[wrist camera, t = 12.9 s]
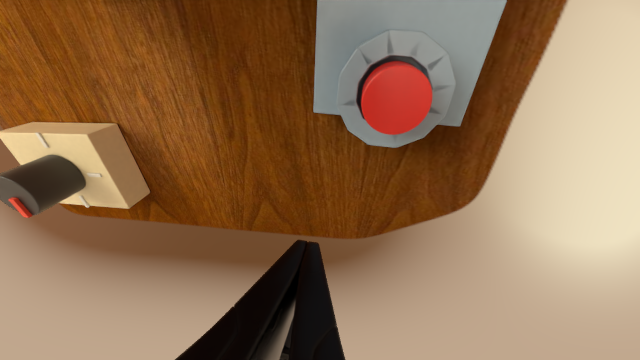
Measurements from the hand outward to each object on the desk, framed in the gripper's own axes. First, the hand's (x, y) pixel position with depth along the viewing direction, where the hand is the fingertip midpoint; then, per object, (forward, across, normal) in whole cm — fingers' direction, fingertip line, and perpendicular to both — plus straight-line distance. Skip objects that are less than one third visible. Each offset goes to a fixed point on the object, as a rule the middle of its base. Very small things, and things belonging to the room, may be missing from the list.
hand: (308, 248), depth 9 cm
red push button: (+9, -3, -4) cm, 10 cm away
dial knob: (+10, +26, +6) cm, 28 cm away
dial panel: (+13, +26, +6) cm, 29 cm away
